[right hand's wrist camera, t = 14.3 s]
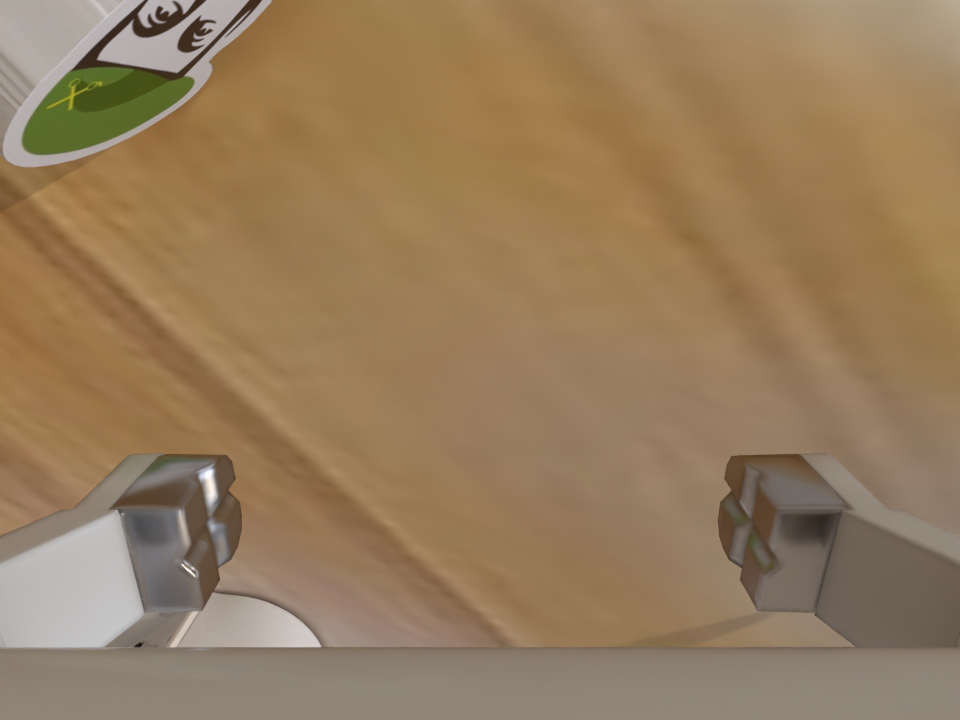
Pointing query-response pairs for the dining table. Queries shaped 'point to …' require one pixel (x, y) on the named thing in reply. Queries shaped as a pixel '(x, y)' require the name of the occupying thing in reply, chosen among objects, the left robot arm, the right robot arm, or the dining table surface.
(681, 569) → the dining table surface
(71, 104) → the cutout
